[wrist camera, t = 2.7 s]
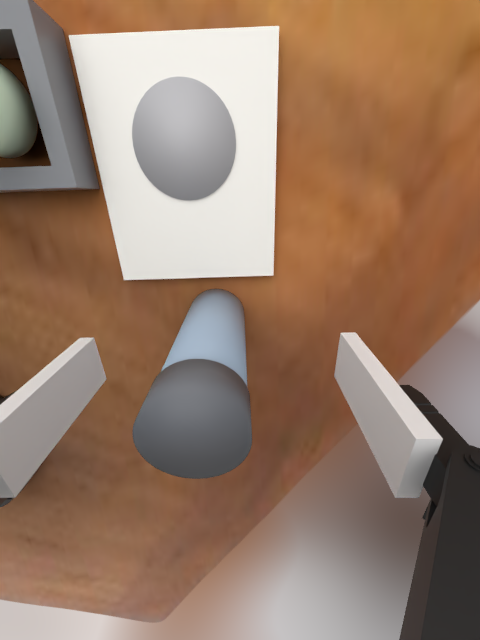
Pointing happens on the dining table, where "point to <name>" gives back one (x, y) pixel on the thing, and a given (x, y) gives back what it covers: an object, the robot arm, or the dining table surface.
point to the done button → (15, 116)
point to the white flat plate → (185, 147)
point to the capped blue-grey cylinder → (200, 395)
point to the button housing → (47, 101)
